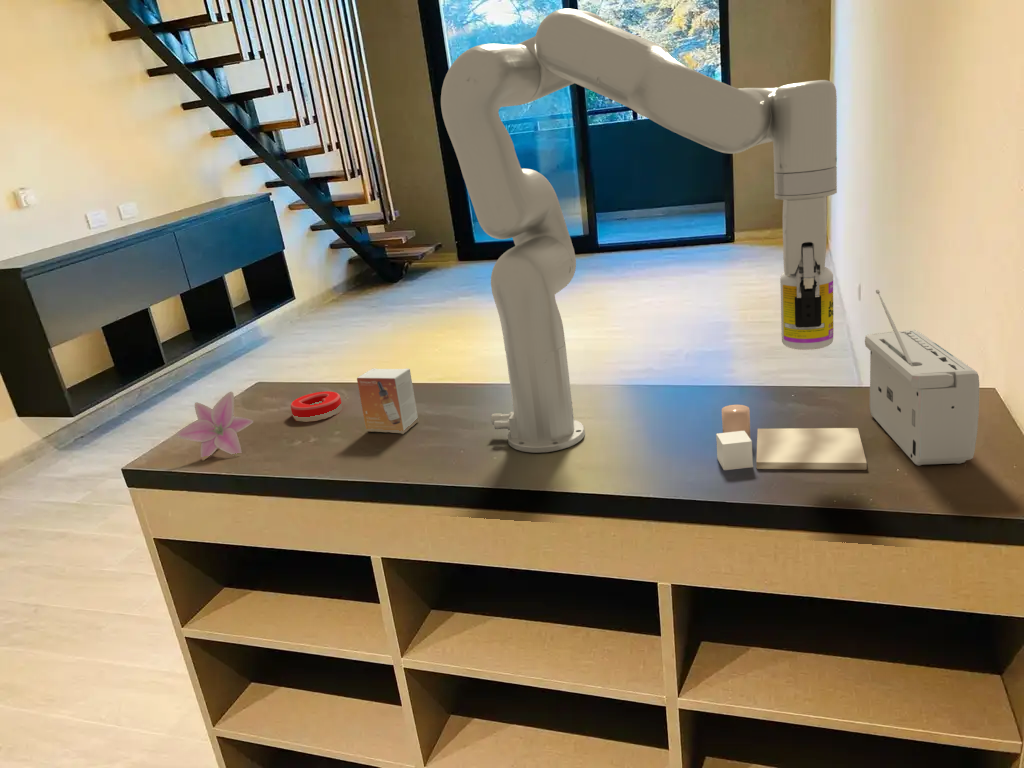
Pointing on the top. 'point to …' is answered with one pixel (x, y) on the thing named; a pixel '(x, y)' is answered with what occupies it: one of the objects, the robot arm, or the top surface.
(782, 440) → the ash board
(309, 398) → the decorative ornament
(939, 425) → the stereo radio cassette player
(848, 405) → the top surface
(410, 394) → the small box
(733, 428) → the peach rounded capsule
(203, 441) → the lily
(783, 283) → the supplement bottle
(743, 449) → the off-white block
